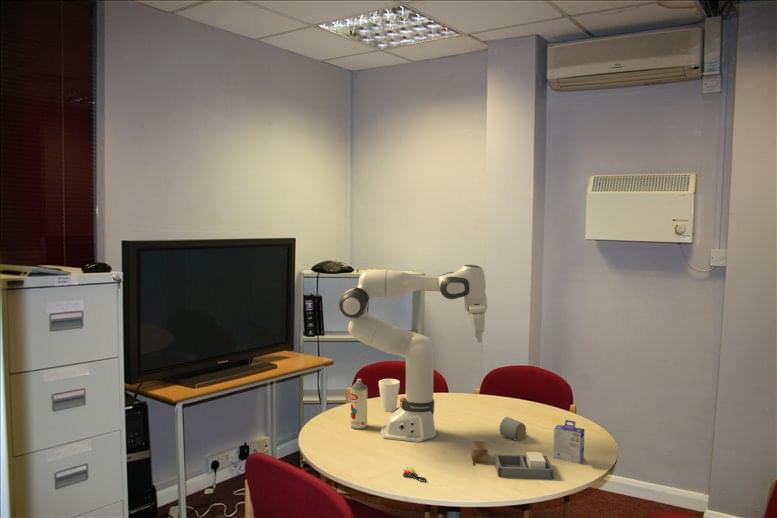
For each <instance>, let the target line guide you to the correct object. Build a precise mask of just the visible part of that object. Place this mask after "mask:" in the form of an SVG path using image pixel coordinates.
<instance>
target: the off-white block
mask: <svg viewBox="0 0 777 518" xmlns="http://www.w3.org/2000/svg"><path fill="white" fill-rule="evenodd" d="M525 455H526V467H527V468H545V462H546V461H545V459H544V457H543V456H544V455H543V453H542V452H541V451H540V452H539V451H526V453H525Z"/></svg>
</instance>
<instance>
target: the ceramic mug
mask: <svg viewBox="0 0 777 518" xmlns="http://www.w3.org/2000/svg"><path fill="white" fill-rule="evenodd" d="M526 427H527V426H526V425H525V423H523V422H521V421H520V420H517V419H514V418H511V417H509V416H506V417H504V418H503V419H502V420H501V422H500V425H499V432H500V435H501V436H503V437H504V438H505V437H506V438H508V439H510V440H511V439H512V440H515V441H521V440H523V439H524V438H525V437H526V435H527V428H526Z"/></svg>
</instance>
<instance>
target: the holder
mask: <svg viewBox="0 0 777 518" xmlns="http://www.w3.org/2000/svg"><path fill="white" fill-rule="evenodd" d="M543 457H544V459H545V461H546V462H545V468H527V467H526V454H525V455H524V454H502V453H497V454H496V453H494V457H493V458H494V461H493V462H494V467H495V471H496V473H497V477H498V478H520V479H539V480H540V479H541V480H544V479H546V480H553V479H554V475H555V473H554V471H555V470H554V468H553V466H552V464H551V462H550V460H549V459H548V457H547V455H543Z"/></svg>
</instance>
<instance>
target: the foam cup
mask: <svg viewBox="0 0 777 518" xmlns="http://www.w3.org/2000/svg"><path fill="white" fill-rule="evenodd" d="M400 383H401V382H400V380H398V379H394V378H384V379H380V380H379V381H378V388H379V397H380V404H381V411H383V412H384V413H386V412H387V413H393V412H395V411H396V410H397V405H398V400H399V397H398V396H399V392H400V386H401V385H400Z"/></svg>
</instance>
